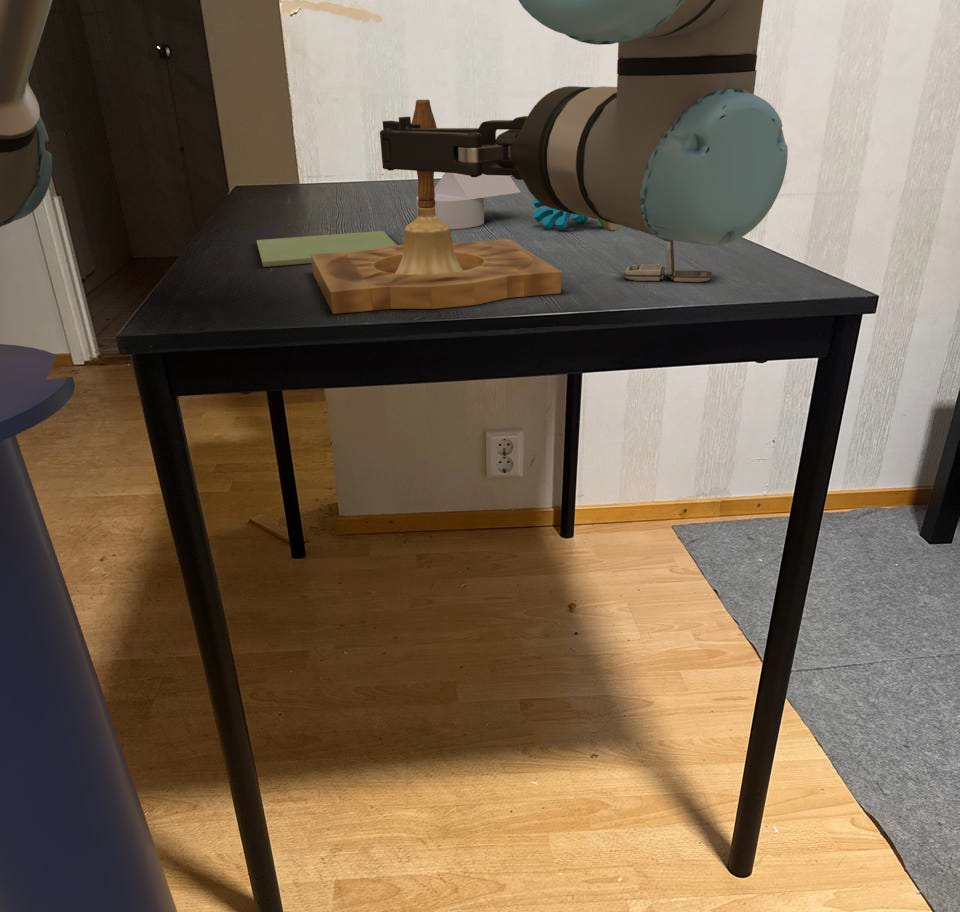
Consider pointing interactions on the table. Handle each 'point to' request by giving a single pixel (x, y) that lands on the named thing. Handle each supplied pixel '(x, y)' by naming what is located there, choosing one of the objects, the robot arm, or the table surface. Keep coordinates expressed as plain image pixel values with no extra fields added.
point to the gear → (556, 216)
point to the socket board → (432, 278)
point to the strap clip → (657, 272)
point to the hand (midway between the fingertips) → (463, 134)
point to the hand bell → (427, 221)
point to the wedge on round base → (467, 197)
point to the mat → (317, 246)
